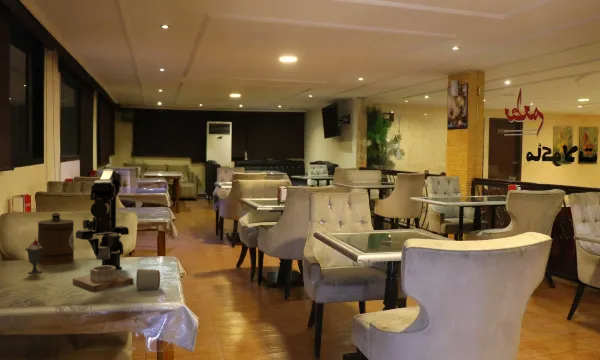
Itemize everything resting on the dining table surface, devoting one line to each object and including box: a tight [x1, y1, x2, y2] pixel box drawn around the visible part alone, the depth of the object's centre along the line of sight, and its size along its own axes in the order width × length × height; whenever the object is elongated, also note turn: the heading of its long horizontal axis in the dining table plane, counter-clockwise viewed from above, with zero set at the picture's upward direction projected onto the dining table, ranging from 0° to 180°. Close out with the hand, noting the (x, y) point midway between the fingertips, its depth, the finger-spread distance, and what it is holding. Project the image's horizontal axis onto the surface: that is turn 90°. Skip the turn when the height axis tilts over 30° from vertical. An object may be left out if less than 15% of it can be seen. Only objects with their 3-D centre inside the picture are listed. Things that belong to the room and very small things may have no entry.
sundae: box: [25, 236, 44, 275], centre depth 213 cm, size 7×7×15 cm
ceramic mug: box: [135, 268, 161, 292], centre depth 193 cm, size 11×8×8 cm
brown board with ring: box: [72, 265, 134, 293], centre depth 199 cm, size 16×16×6 cm
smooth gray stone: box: [95, 246, 110, 261], centre depth 198 cm, size 5×5×4 cm
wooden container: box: [37, 212, 75, 265], centre depth 236 cm, size 15×15×22 cm
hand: (103, 255), depth 198 cm, fingers closed on smooth gray stone, 5 cm apart
